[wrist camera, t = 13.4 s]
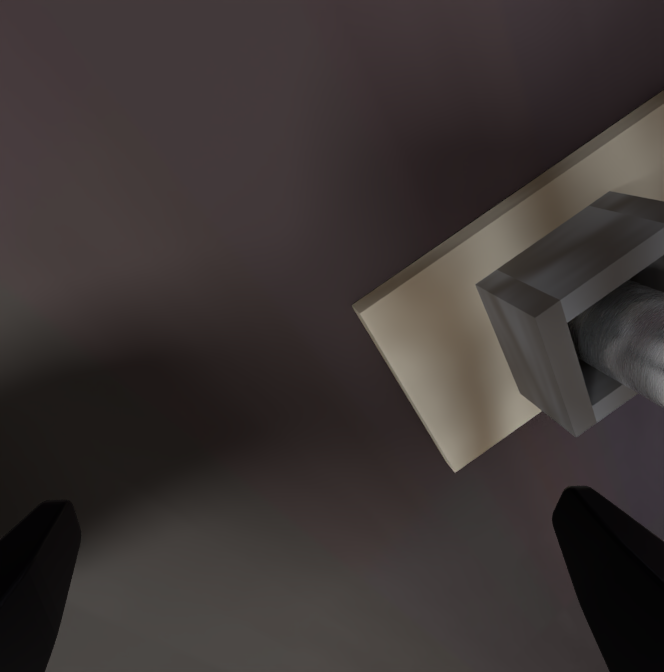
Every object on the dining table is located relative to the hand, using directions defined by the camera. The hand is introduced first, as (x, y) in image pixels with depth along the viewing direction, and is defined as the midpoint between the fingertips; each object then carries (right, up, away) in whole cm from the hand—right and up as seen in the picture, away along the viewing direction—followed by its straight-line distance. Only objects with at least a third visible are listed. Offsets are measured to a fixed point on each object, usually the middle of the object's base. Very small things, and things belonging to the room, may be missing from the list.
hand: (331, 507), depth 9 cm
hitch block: (+11, +5, +16) cm, 20 cm away
